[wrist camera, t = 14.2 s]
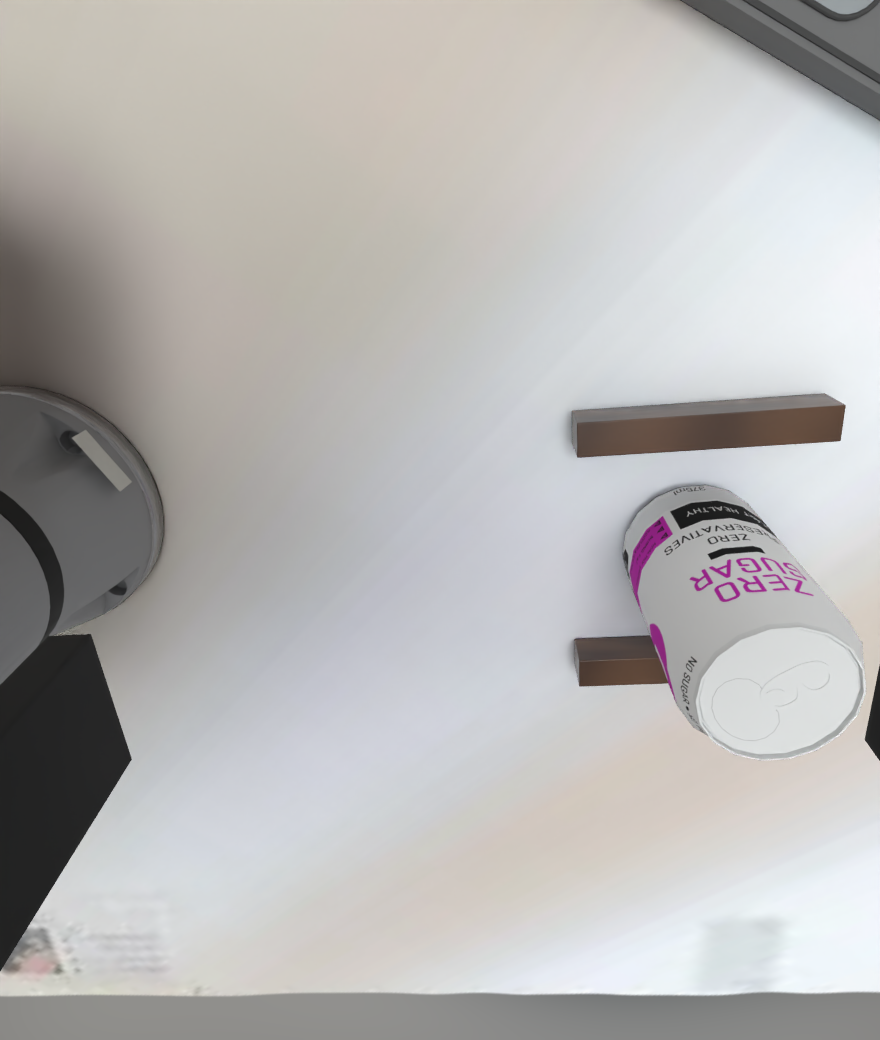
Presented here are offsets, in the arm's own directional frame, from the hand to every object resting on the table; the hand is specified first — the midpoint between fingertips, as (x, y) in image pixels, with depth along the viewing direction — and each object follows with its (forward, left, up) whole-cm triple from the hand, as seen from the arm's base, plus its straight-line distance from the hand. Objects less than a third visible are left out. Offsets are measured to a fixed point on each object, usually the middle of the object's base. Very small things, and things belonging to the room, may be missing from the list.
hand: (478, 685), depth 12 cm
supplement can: (+12, -13, -31) cm, 35 cm away
